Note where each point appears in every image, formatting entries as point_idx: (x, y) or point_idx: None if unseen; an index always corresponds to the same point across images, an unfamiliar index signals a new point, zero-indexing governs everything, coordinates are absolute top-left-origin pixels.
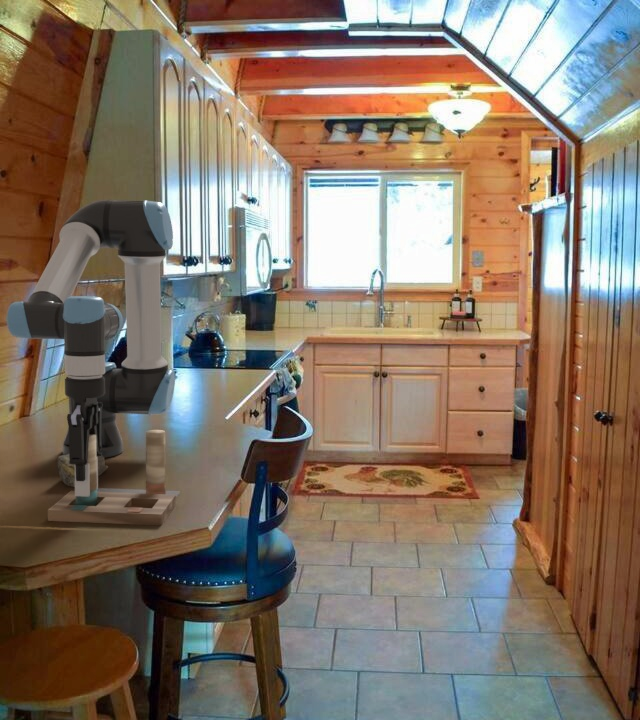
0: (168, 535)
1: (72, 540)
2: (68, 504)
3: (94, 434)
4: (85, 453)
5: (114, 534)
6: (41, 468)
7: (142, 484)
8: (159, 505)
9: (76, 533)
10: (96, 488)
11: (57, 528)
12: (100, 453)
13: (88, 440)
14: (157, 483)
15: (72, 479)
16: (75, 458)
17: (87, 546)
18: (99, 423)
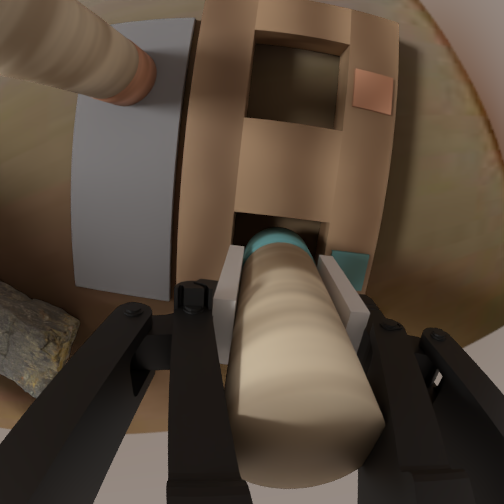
0: (432, 27)
1: (457, 242)
2: None
3: (242, 413)
4: (413, 354)
5: (435, 148)
6: (9, 388)
7: (27, 155)
8: (320, 24)
9: (422, 243)
10: (284, 243)
11: (384, 295)
12: (200, 292)
13: (392, 403)
14: (136, 51)
15: (74, 338)
16: (436, 374)
17: (487, 203)
18: (70, 436)
